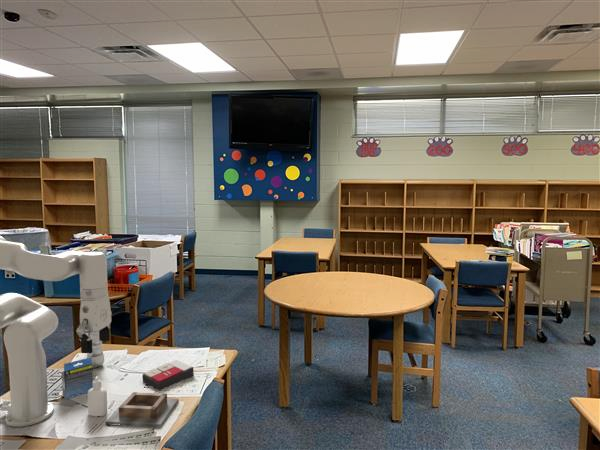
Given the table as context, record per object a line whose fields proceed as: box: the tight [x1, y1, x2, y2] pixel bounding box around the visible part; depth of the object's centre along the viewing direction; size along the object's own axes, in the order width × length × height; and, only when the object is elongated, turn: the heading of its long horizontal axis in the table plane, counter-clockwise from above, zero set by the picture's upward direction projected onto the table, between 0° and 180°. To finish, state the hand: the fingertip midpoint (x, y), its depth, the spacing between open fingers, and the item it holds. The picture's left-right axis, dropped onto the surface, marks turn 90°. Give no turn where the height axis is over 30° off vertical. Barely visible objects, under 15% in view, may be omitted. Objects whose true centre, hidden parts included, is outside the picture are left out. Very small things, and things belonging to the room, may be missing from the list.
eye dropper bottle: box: [87, 376, 108, 417], centre depth 129 cm, size 4×6×12 cm
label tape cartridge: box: [61, 357, 94, 400], centre depth 141 cm, size 9×4×12 cm, turn 132°
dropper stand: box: [104, 391, 179, 428], centre depth 130 cm, size 17×15×4 cm
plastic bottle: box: [85, 329, 105, 369], centre depth 162 cm, size 6×7×20 cm
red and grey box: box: [142, 359, 195, 391], centre depth 153 cm, size 11×4×15 cm
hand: (96, 346), depth 127 cm, fingers open, 9 cm apart
